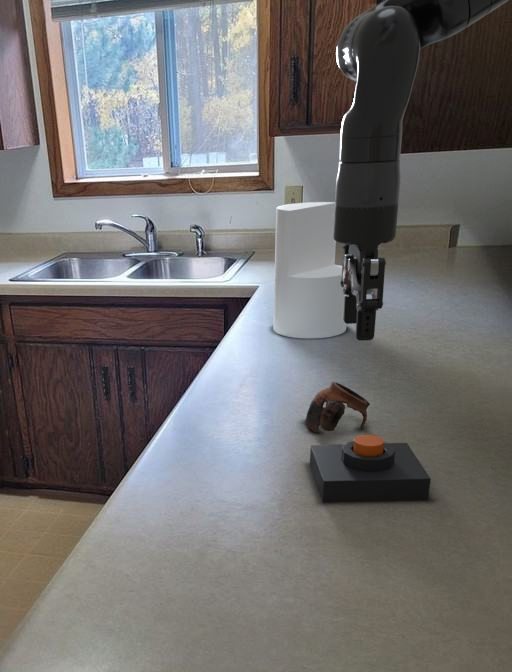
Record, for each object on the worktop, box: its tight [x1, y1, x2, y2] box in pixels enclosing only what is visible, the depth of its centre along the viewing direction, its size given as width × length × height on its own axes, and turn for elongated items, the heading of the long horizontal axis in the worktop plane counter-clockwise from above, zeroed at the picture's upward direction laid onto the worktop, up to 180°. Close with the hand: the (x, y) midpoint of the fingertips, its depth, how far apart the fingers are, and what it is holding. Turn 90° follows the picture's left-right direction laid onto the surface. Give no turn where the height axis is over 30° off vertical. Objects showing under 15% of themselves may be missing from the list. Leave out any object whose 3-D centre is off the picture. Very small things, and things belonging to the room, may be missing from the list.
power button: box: [353, 434, 385, 456], centre depth 102 cm, size 4×4×2 cm
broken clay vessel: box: [304, 381, 371, 433], centre depth 121 cm, size 12×10×8 cm
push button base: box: [309, 440, 431, 503], centre depth 104 cm, size 14×12×5 cm
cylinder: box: [273, 201, 347, 339], centre depth 173 cm, size 17×17×28 cm
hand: (357, 330), depth 98 cm, fingers open, 8 cm apart
